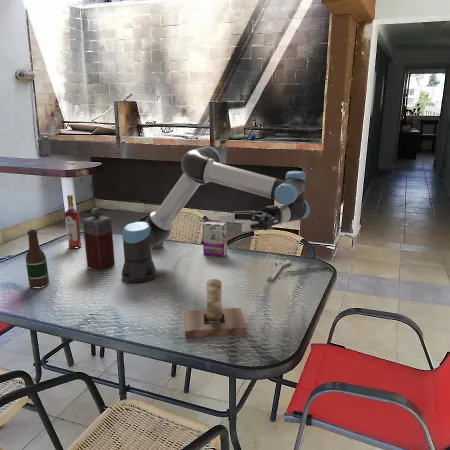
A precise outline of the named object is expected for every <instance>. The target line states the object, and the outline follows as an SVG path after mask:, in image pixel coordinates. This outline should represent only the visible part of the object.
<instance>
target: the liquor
mask: <svg viewBox="0 0 450 450" xmlns="http://www.w3.org/2000/svg"><path fill="white" fill-rule="evenodd" d="M66 199H67V210H66V211H65V212H64V213H63V214H64V215H63V216H64V220H65V226H66V227H65V228H66V233H67V239H68V245H67V247H69V248H70V247H71V248H70V249H73V248H75V247H79V248H81V246H82V244H83V243H82V241H81V239H82V238H81V224H80V220H81V219H80V211H78V210H77V209H75V207H74V198H73V194H68V195H66Z"/></svg>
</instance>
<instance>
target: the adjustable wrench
mask: <svg viewBox="0 0 450 450" xmlns="http://www.w3.org/2000/svg"><path fill="white" fill-rule="evenodd" d="M289 264H290V265H291V261H290V259H286V260H285V261H281V259H277V260H276V261H274V265H275V266H276V267H275V268H274V269H273V270H272V271H271V273H270V274H269V275H268V276H267V278H266V281H267V282H270V283H271V282H274V281H275V279H276V278H277V276H279V274H280V273H281V270H283V267H284V268H286V267H288V265H289ZM290 265H289V266H290ZM285 266H286V267H285Z"/></svg>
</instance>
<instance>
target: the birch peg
mask: <svg viewBox="0 0 450 450" xmlns="http://www.w3.org/2000/svg"><path fill="white" fill-rule="evenodd" d="M205 284H206V285H205V286H206V310H207V319H208V320H209V321H208V324H221V322H220V321H222V320H221V319H222V309H223V308H222V306H223V305H222V304H223V303H222V302H223V301H222V300H223V299H222V280H220V279H216V278H215V279H214V278H213V279H208V280H206V283H205Z"/></svg>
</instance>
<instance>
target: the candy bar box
mask: <svg viewBox="0 0 450 450" xmlns="http://www.w3.org/2000/svg"><path fill="white" fill-rule="evenodd" d="M227 224H228V222H225V223H219V221H218V222H217V221H205V222H203V223H202V242H203V243H202V245H203V246H202V247H203V249H202V250H203V251H202V252H203V255H204V256H212V257H213V256H214V257H221V258H225V257H226V255H228V236H227V235H228V228H227V227H228V226H227Z"/></svg>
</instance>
